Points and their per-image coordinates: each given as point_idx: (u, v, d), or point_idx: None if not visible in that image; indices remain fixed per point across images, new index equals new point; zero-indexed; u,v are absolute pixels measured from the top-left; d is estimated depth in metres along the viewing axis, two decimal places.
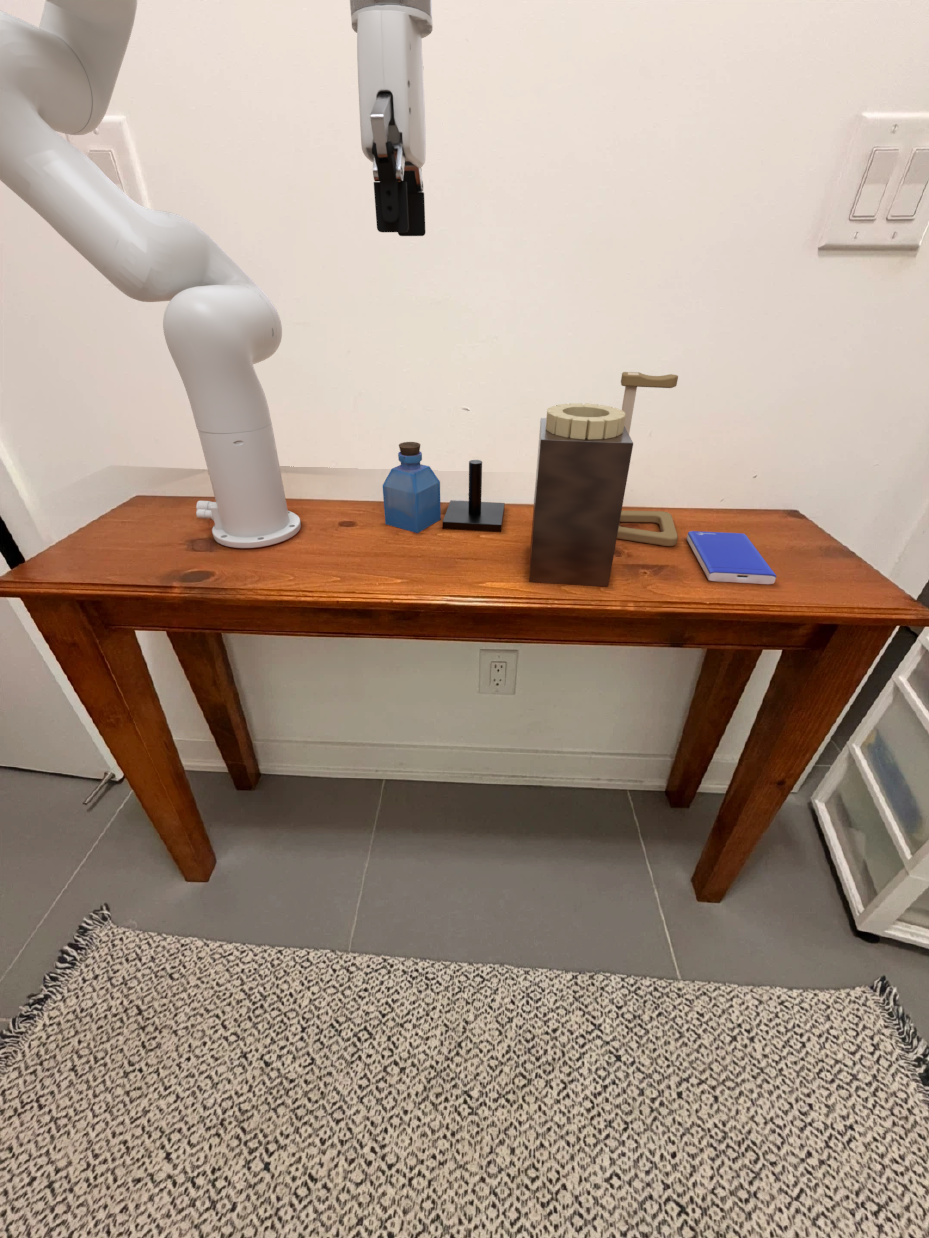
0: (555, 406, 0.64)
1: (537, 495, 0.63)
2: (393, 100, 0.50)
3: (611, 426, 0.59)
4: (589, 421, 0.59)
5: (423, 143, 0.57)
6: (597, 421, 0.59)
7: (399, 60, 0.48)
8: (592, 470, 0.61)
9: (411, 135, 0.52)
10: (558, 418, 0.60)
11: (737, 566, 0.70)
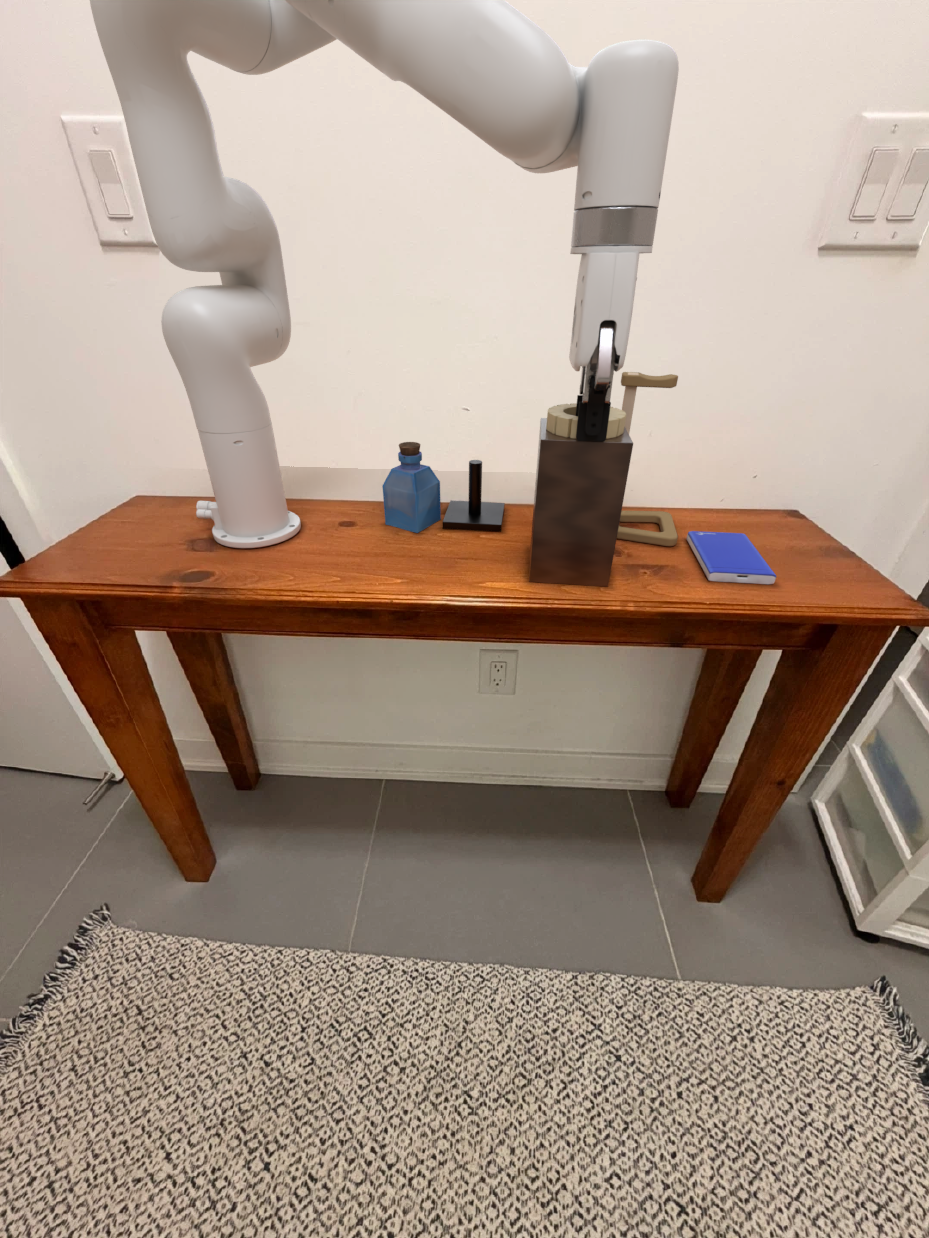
0: (556, 406, 0.64)
1: (537, 495, 0.63)
2: (614, 337, 0.51)
3: (611, 426, 0.59)
4: None
5: None
6: None
7: (627, 295, 0.49)
8: (592, 470, 0.61)
9: None
10: (558, 418, 0.60)
11: (737, 566, 0.70)
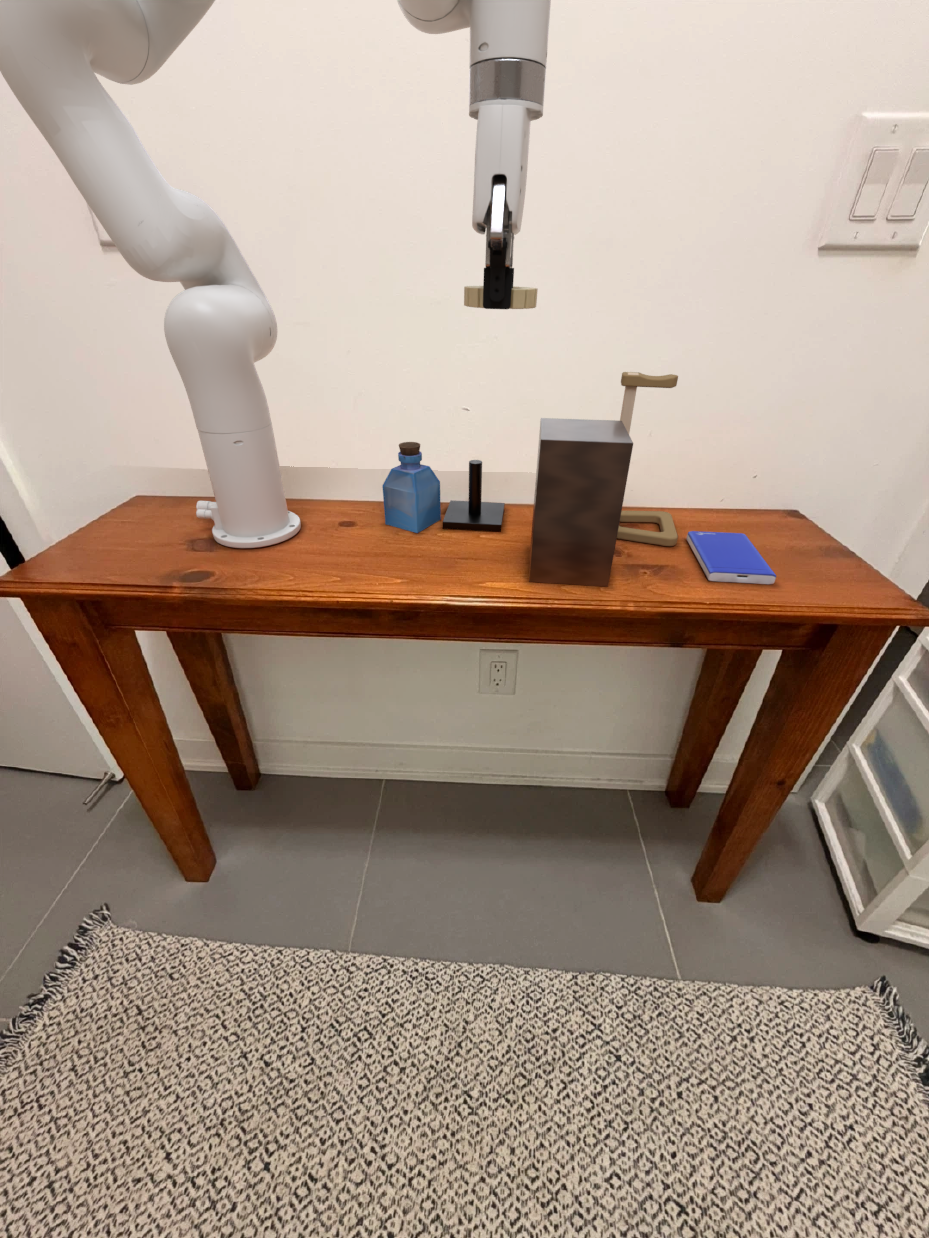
0: None
1: (537, 495, 0.63)
2: None
3: (518, 296, 0.63)
4: None
5: None
6: None
7: (515, 148, 0.53)
8: (592, 470, 0.61)
9: (519, 212, 0.56)
10: (470, 289, 0.64)
11: (737, 566, 0.70)
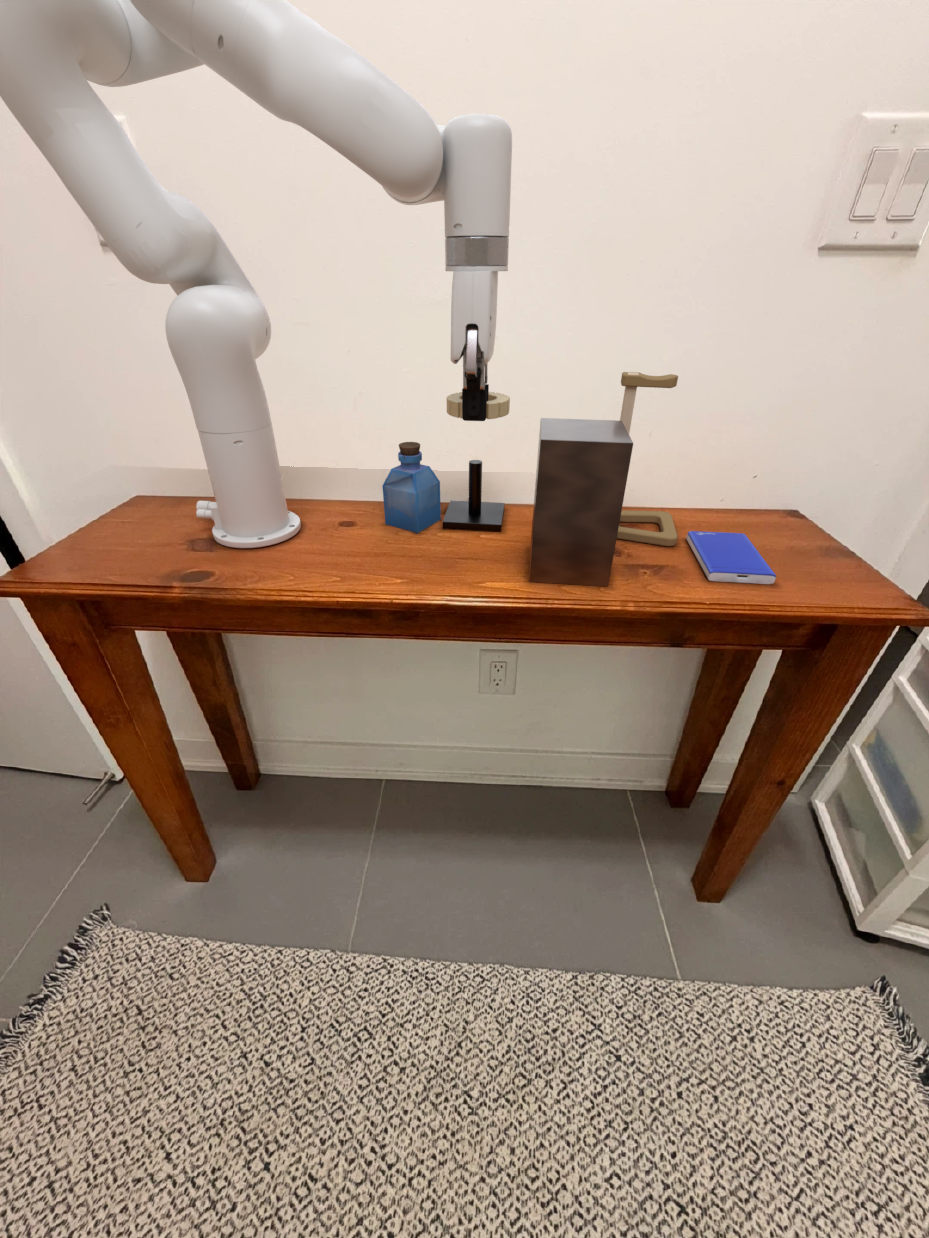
0: (457, 393, 0.79)
1: (537, 495, 0.63)
2: None
3: (492, 409, 0.73)
4: None
5: None
6: None
7: (484, 304, 0.63)
8: (592, 470, 0.61)
9: (490, 350, 0.66)
10: (451, 402, 0.74)
11: (737, 566, 0.70)
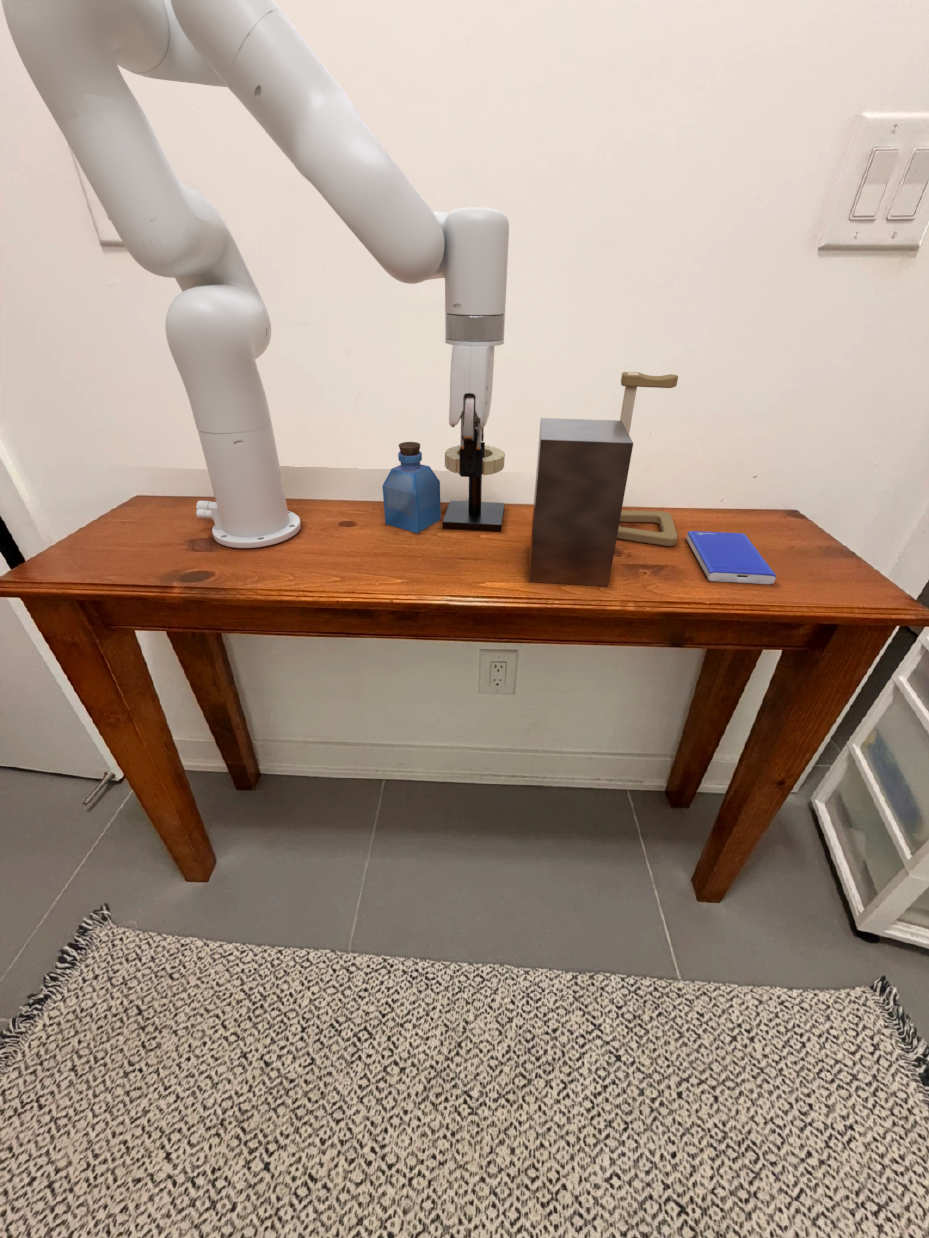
0: (455, 447, 0.83)
1: (537, 495, 0.63)
2: None
3: (488, 466, 0.78)
4: None
5: (490, 404, 0.75)
6: None
7: (481, 376, 0.67)
8: (592, 470, 0.61)
9: (486, 416, 0.71)
10: (449, 458, 0.79)
11: (737, 566, 0.70)
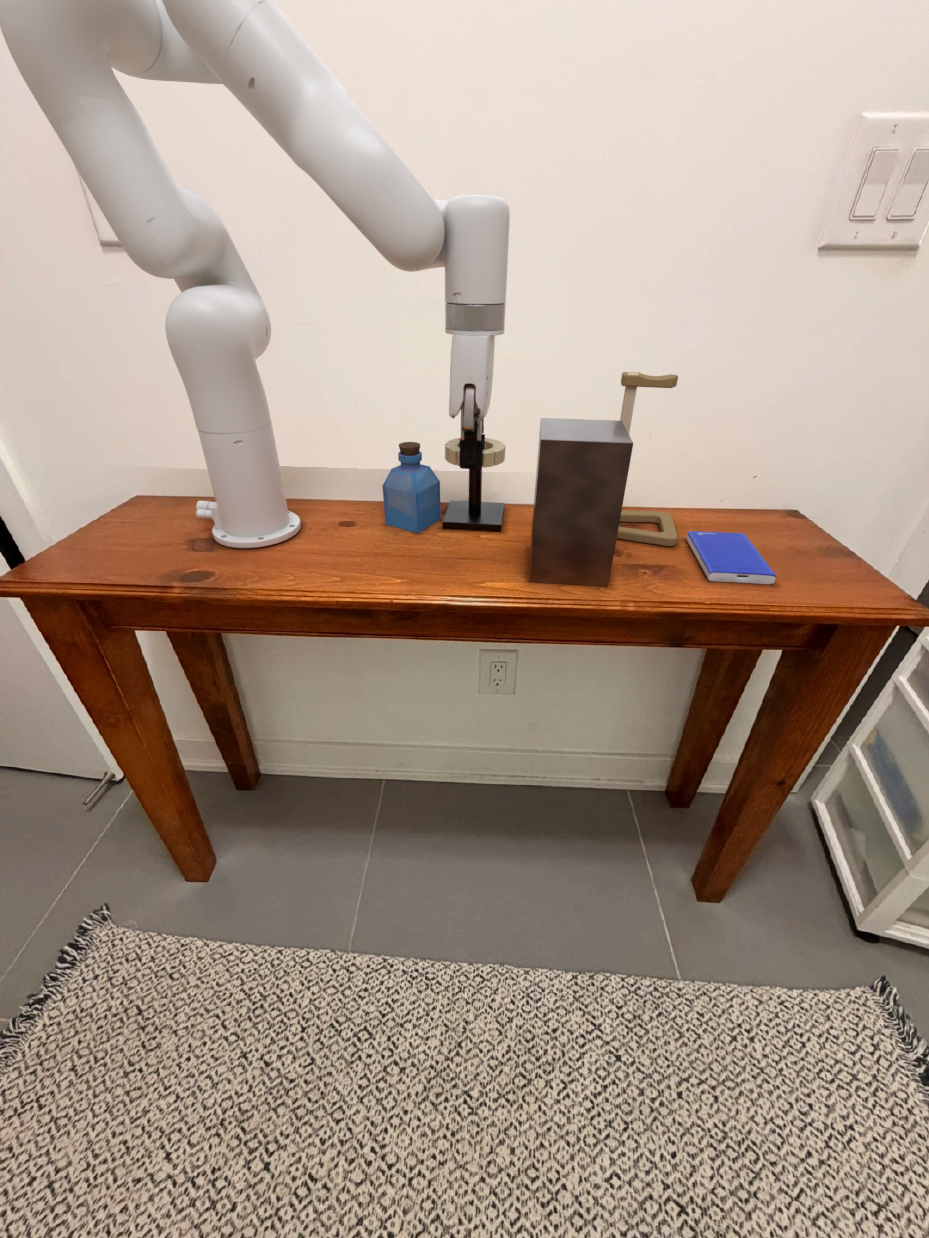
0: (455, 439, 0.82)
1: (537, 495, 0.63)
2: (476, 395, 0.69)
3: (488, 458, 0.77)
4: None
5: None
6: None
7: (482, 366, 0.67)
8: (592, 470, 0.61)
9: (486, 407, 0.70)
10: (449, 450, 0.78)
11: (737, 566, 0.70)
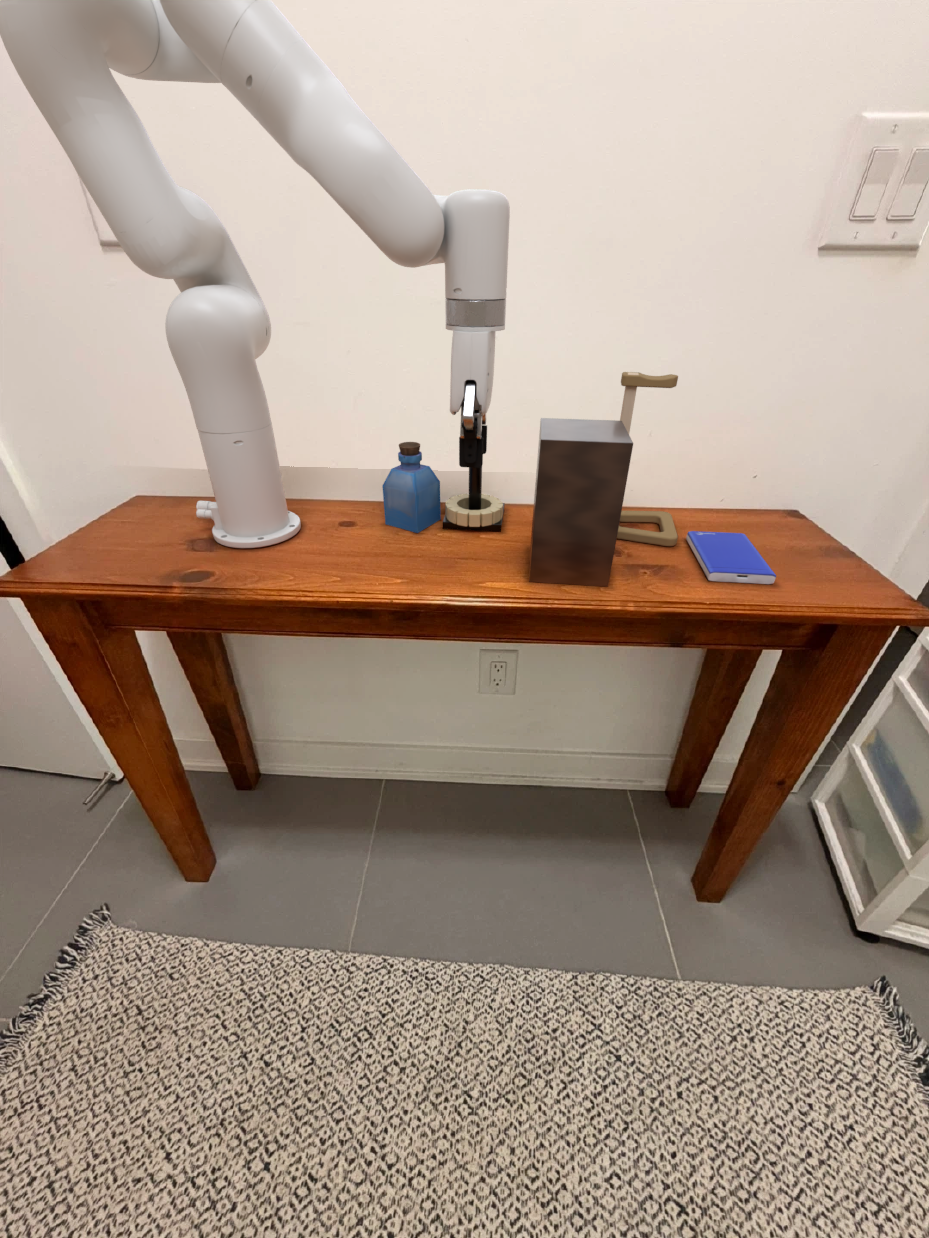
0: (455, 496, 0.86)
1: (537, 495, 0.63)
2: (476, 389, 0.68)
3: (486, 518, 0.81)
4: (469, 514, 0.80)
5: None
6: (474, 514, 0.80)
7: (482, 362, 0.66)
8: (592, 470, 0.61)
9: (487, 403, 0.70)
10: (449, 509, 0.82)
11: (737, 566, 0.70)
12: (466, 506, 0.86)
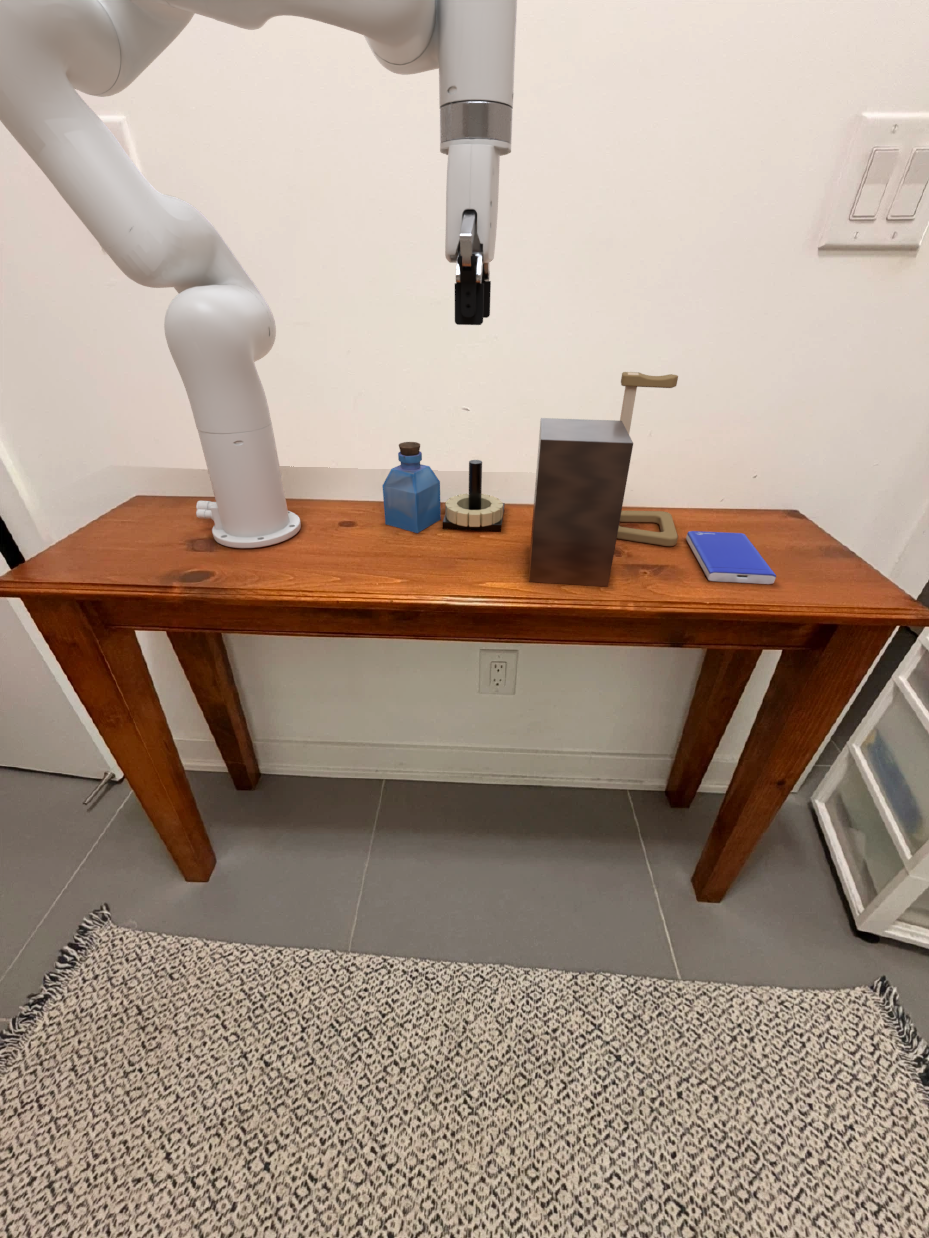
0: (455, 496, 0.86)
1: (537, 495, 0.63)
2: (477, 217, 0.56)
3: (486, 518, 0.81)
4: (469, 514, 0.80)
5: None
6: (474, 514, 0.80)
7: (484, 185, 0.55)
8: (592, 470, 0.61)
9: (490, 244, 0.58)
10: (449, 509, 0.82)
11: (737, 566, 0.70)
12: (466, 506, 0.86)
